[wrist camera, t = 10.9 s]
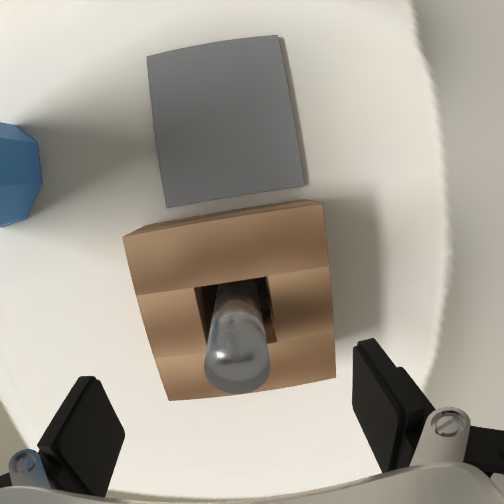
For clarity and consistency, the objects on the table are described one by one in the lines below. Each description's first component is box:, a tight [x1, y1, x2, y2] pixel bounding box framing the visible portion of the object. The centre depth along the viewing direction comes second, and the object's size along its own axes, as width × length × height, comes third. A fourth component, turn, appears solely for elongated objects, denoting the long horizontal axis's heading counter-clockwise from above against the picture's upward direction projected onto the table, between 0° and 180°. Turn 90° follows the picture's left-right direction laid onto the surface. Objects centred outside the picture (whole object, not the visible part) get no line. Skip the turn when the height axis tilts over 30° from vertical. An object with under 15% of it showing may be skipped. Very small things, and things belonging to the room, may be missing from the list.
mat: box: [147, 35, 304, 208], centre depth 22 cm, size 12×10×1 cm
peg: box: [204, 279, 271, 394], centre depth 19 cm, size 3×3×11 cm
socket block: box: [123, 200, 336, 401], centre depth 22 cm, size 12×12×5 cm
